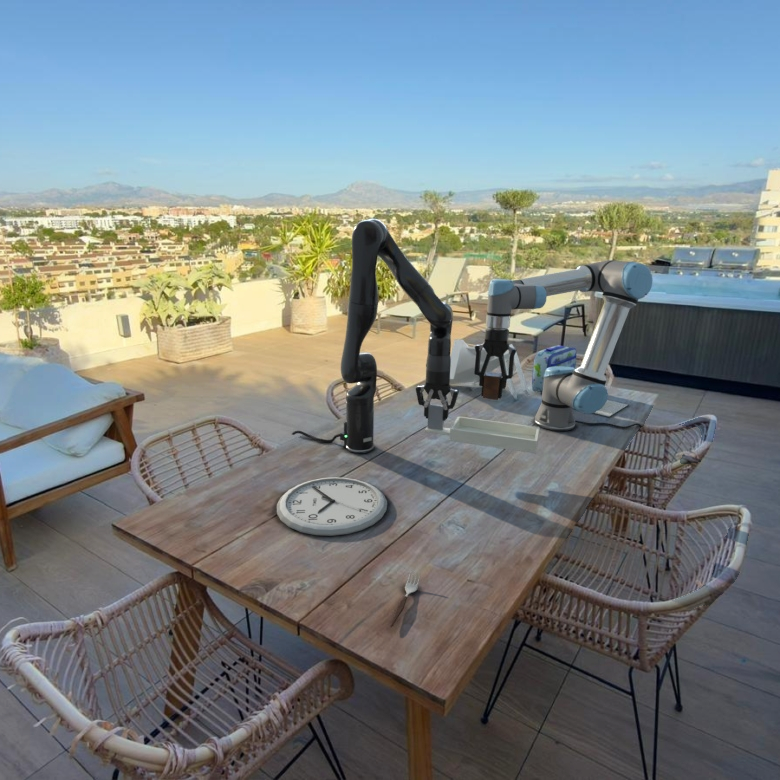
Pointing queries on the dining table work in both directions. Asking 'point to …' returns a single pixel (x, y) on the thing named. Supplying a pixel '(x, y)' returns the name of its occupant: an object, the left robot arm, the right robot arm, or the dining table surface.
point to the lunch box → (551, 363)
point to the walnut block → (491, 385)
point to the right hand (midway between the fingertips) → (491, 396)
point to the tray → (484, 431)
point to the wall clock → (331, 506)
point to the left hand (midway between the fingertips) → (435, 418)
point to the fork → (409, 589)
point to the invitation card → (610, 408)
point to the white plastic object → (465, 365)
